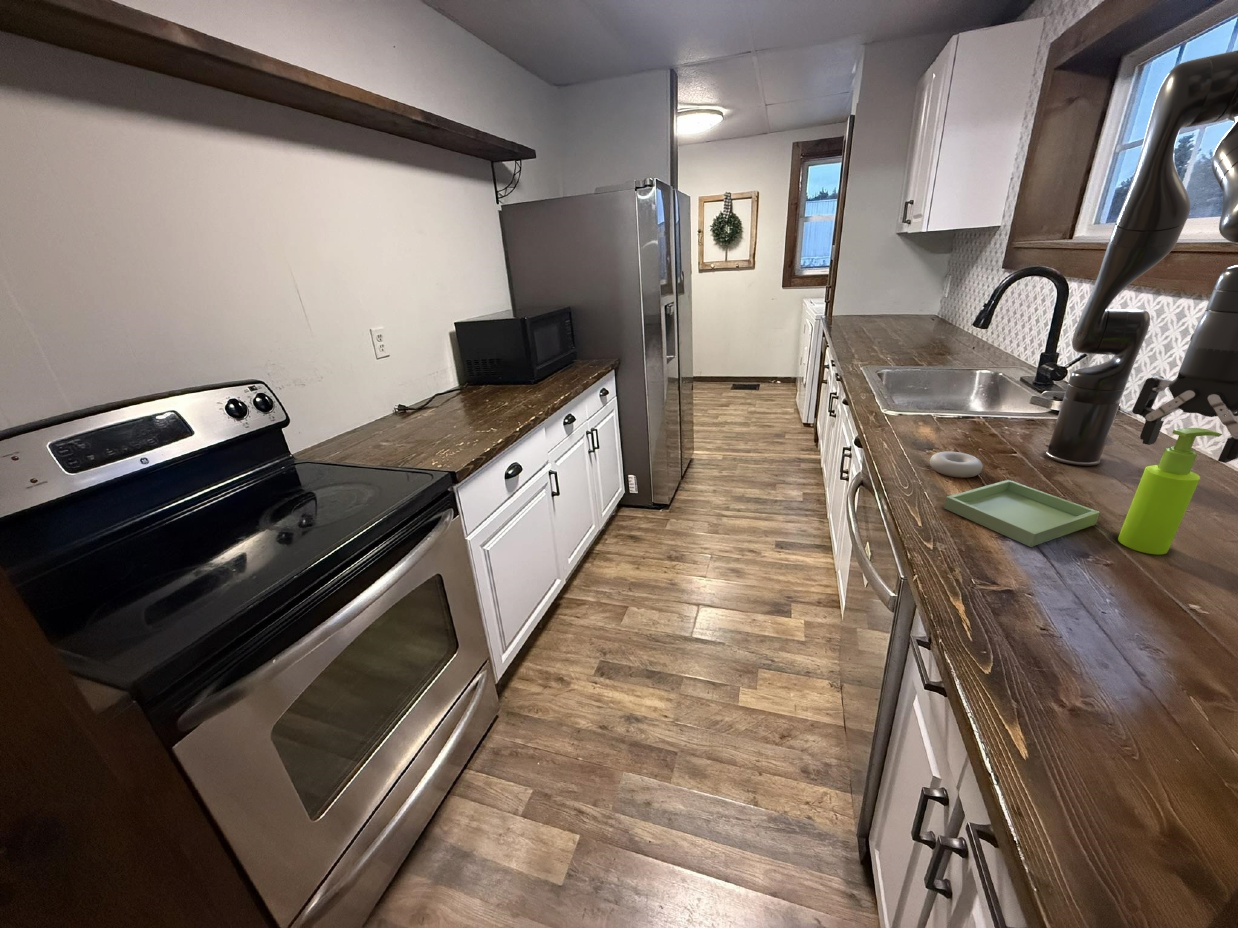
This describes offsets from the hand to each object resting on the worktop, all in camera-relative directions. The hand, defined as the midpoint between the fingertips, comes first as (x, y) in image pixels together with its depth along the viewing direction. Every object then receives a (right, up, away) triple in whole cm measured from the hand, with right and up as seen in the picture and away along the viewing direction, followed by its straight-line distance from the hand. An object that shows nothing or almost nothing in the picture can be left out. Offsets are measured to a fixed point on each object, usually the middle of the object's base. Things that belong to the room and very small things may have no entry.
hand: (1184, 452), depth 76 cm
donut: (-11, -4, +36) cm, 38 cm away
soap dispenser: (+1, -15, +6) cm, 17 cm away
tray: (-12, -12, +17) cm, 24 cm away
